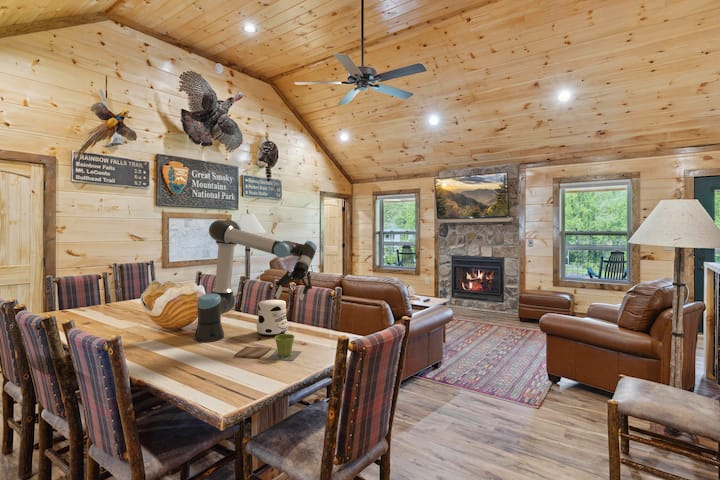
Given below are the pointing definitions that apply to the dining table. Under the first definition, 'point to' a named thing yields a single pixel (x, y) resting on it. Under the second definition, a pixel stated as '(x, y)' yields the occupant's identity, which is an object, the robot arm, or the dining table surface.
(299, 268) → the robot arm
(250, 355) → the walnut board
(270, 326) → the milk container
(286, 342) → the plant pot
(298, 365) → the dining table surface
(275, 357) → the slate mat
